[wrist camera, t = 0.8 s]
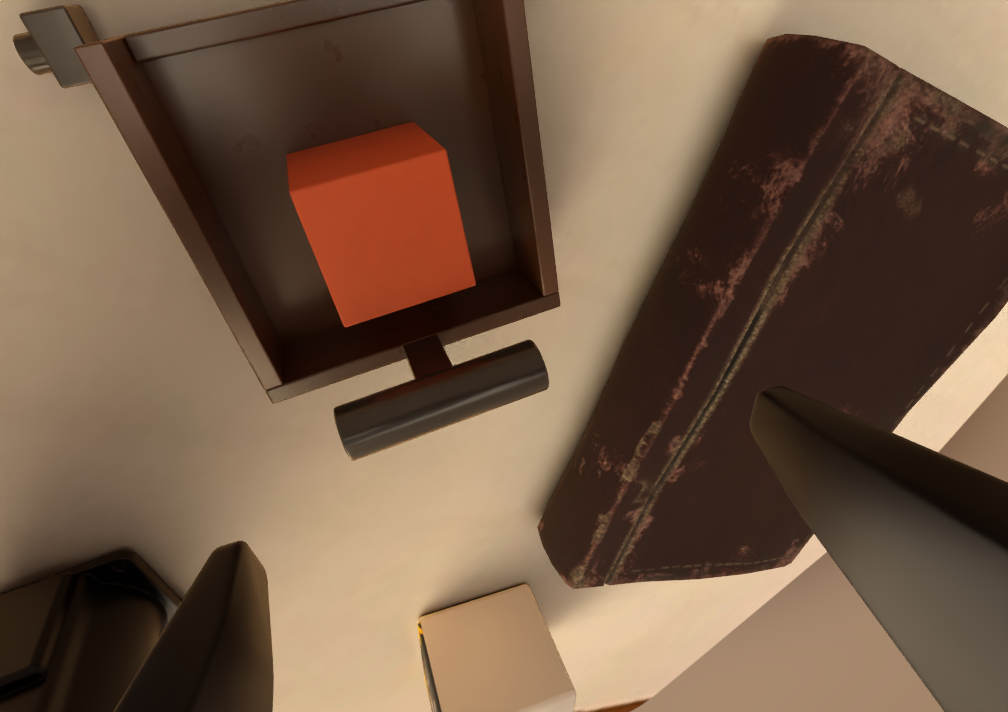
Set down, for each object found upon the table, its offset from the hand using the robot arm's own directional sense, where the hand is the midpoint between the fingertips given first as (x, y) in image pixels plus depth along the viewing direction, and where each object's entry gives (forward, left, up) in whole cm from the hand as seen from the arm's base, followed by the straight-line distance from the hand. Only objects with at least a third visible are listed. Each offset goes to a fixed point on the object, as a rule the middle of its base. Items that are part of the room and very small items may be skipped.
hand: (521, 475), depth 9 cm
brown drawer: (+2, 0, -13) cm, 13 cm away
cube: (+1, 0, -12) cm, 12 cm away
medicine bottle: (-27, +2, -13) cm, 30 cm away
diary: (-12, -17, -13) cm, 24 cm away
